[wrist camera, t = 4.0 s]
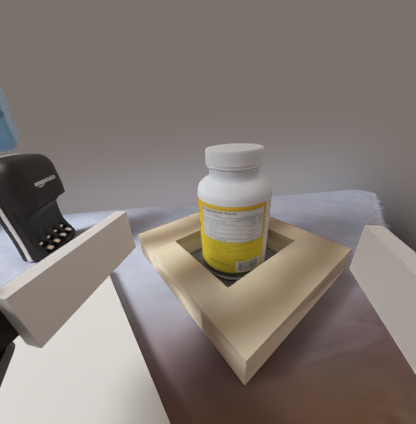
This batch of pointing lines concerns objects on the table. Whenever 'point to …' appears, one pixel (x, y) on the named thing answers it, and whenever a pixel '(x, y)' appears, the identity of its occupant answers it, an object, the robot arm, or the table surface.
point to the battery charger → (32, 205)
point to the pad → (83, 372)
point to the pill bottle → (234, 210)
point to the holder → (247, 287)
